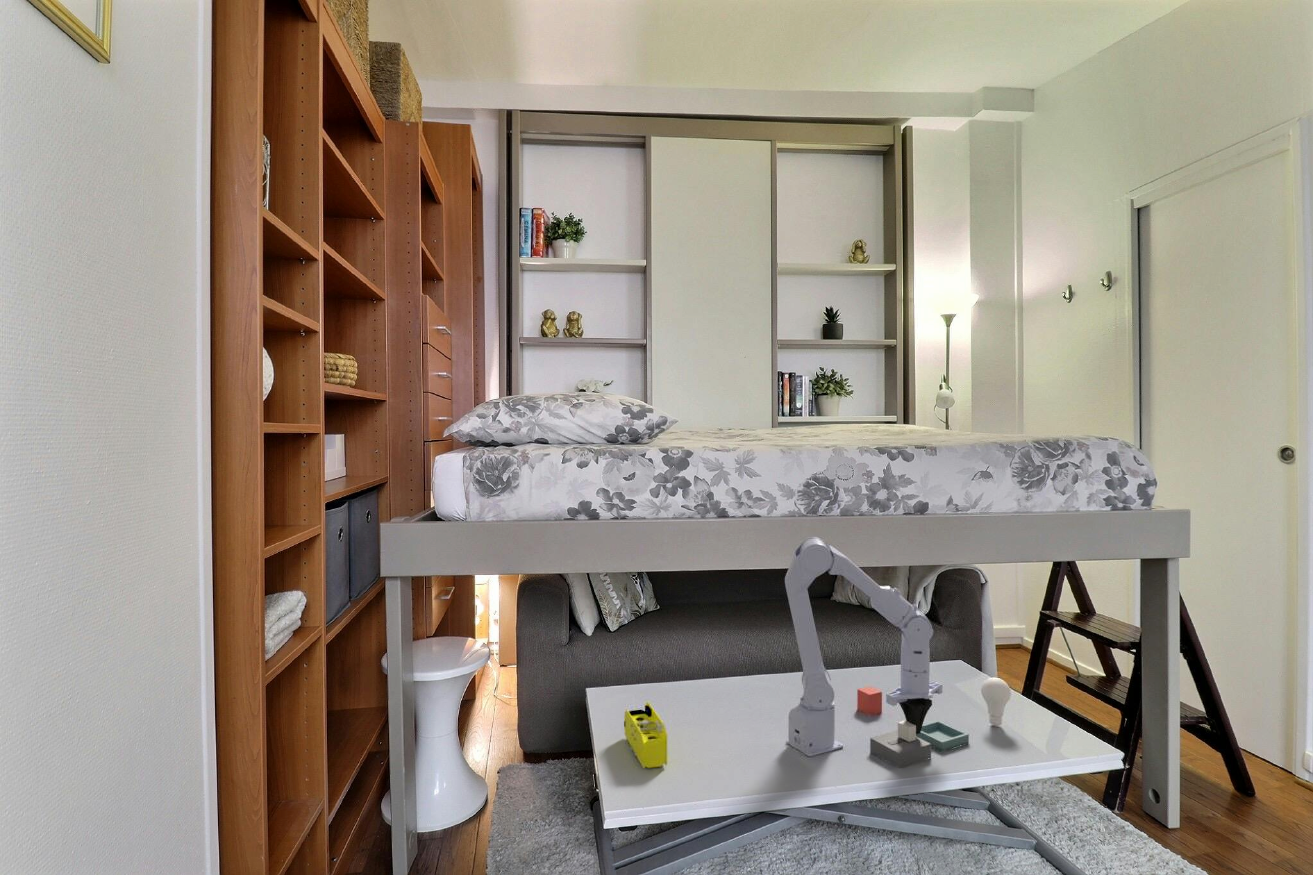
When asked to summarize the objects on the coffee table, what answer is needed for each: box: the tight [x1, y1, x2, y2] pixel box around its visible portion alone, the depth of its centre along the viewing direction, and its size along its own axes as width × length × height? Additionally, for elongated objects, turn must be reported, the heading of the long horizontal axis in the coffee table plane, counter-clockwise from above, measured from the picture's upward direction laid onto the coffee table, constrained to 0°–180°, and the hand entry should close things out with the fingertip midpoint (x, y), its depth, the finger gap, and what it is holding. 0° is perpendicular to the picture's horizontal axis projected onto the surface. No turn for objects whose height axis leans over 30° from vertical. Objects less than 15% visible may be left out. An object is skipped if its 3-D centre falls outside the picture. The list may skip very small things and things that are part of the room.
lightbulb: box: [980, 676, 1012, 727], centre depth 165 cm, size 6×6×11 cm
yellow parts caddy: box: [623, 701, 668, 769], centre depth 152 cm, size 16×6×8 cm, turn 16°
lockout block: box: [856, 686, 883, 716], centre depth 173 cm, size 4×4×5 cm
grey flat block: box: [869, 729, 932, 769], centre depth 151 cm, size 9×8×3 cm
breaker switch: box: [897, 719, 916, 742], centre depth 151 cm, size 2×3×3 cm, turn 28°
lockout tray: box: [916, 720, 970, 752], centre depth 158 cm, size 8×8×2 cm
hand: (914, 732), depth 153 cm, fingers closed
